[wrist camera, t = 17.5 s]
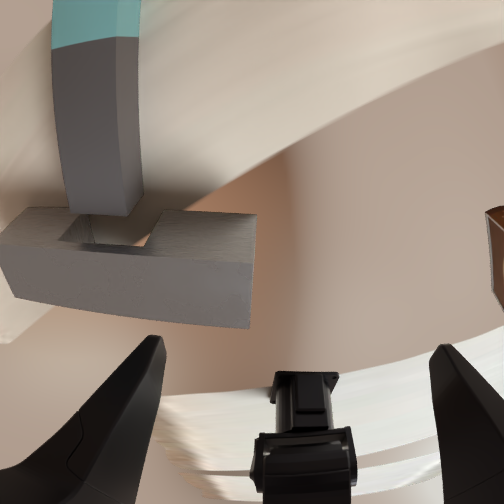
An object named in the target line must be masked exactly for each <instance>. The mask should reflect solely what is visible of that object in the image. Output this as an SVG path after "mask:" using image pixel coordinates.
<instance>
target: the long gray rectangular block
mask: <svg viewBox="0 0 504 504" xmlns="http://www.w3.org/2000/svg"><path fill="white" fill-rule="evenodd" d="M256 221H257V215H256V214H239V213H222V212H202V211H180V210H164V211H163V213H162V215H161V216H160V218H159V220H158V222H157V223H156V225H155V227H154V229H153V230H152V232H151V234H150V236H149V238H148V240H147V241H146V243H145V245H144V247H139V246H125V245H110V244H95V242H94V239H93V235H92V231H91V226H90V222H89V218H88V214H76V213H70V208H63V207H27V208H26V209H25V210H24V211H23V212H22V213H21V214H20V215H19V216H18V217H17V218H16V219H15V220H14V221H12V222H11V223H10V224H9V225H8V226H7V227H6V228H5V229H4V230H3V231H2V232H1V233H0V267H1V269H2V271H3V273H4V276H5V278H6V280H7V282H8V284H9V286H10V288H11V290H12V292H13V294H14V296H15V297H16V298H21V299H25V300H30V301H35V302H40V303H46V304H51V305H56V306H62V307H68V308H74V309H79V310H86V311H92V312H98V313H104V314H111V315H118V316H125V317H133V318H140V319H148V320H156V321H165V322H175V323H184V324H194V325H204V326H216V327H228V328H241V329H249V328H250V313H251V299H252V285H253V284H252V283H253V270H254V254H255V237H256Z"/></svg>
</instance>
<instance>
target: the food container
mask: <svg viewBox="0 0 504 504" xmlns="http://www.w3.org/2000/svg"><path fill="white" fill-rule="evenodd" d="M485 216H486V224H487V232H488V241H489V252H490V264H491V286H492V292H493V294H494V296H495V298H496V299H497V301H498V303H499V305H500V307H501V308H502V310H503V312H504V206H498V207H495V208H492V209H490V210H488V211H486V212H485Z"/></svg>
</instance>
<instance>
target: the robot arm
mask: <svg viewBox="0 0 504 504" xmlns="http://www.w3.org/2000/svg"><path fill="white" fill-rule="evenodd" d="M165 363H166V349H165V346H164V342H163V338H162V337H161V336H157V335H148V336H147V337H146V338H145V339H144V340H143V341H142V342H141V343H140V345H138V347H137V348H136V349H135V350H134V351H133V352H132V353H131V354H130V355H129V356H128V357H127V358H126V359H125V360H124V361H123V362H122V364H121V365H120V366H119V367H118V368H117V369H116V370H115V371H114V372H113V373H112V374H111V375H110V376H109V377H108V379H107V380H106V381H105V382H104V383H103V384H102V385H101V386H100V387H99V388H98V389H97V390H96V391H95V393H94V394H93V395H92V396H91V397H90V398H89V399H88V400H87V401H86V402H85V403H84V404H83V405H82V406H81V408H80V409H79V411H77V412H76V413H75V414H74V415H73V416H72V417H71V418H70V419H69V420H68V421H67V422H66V423H65V425H63V427H62V428H61V429H60V430H58V432H56V433H55V434H54V435H53V436H52V437H51V438H50V439H48V440H47V441H46V442H45V443H44V444H43V445H41V446H40V447H39V448H38V449H37V450H36V451H34V452H33V453H32V454H31V455H30V456H29V457H27V458H26V459H25V460H24V461H22V462H21V463H19V464H17V465H15V466H12V467H10V468H6V469H2V470H0V504H135V501H136V496H137V492H138V487H139V483H140V479H141V474H142V470H143V466H144V462H145V457H146V453H147V450H148V446H149V442H150V438H151V434H152V430H153V426H154V422H155V418H156V415H157V411H158V407H159V403H160V397H161V390H162V383H163V376H164V370H165ZM429 370H430V380H431V391H432V402H433V409H434V415H435V421H436V428H437V435H438V442H439V450H440V459H441V469H442V480H443V493H444V504H504V399H503V398H502V397H501V396H500V395H499V394H498V393H497V392H496V391H495V390H494V388H493V387H492V386H491V385H490V384H489V383H488V382H487V381H486V380H485V379H484V378H483V377H482V376H481V375H480V373H479V372H478V371H477V370H476V369H475V368H474V367H473V366H472V365H471V364H470V363H469V362H468V361H467V360H466V359H465V358H464V357H463V356H462V355H461V354H460V353H459V352H458V351H457V350H456V349H455V348H454V347H453V346H452V345H451V344H440V345H439V346H438V347H437V349H436V350H435V352H434V353H433V355H432V356H431V358H430V360H429ZM338 379H339V373H338V372H295V371H277V372H276V373H275V377H274V381H273V386H272V391H271V396H270V403H272V404H276V433H259V438H257V439H255V445H254V456H253V460H252V465H251V469H250V478H251V479H252V480H253V481H254V483H255V486H256V490H257V493H263V504H351V487H352V486H356V483H357V460H356V454H355V448H354V443H353V438H352V433H351V428H350V426H347V427H344V428H337V429H334V425H333V414H332V404H331V393H332V391H333V389H334V387H335V385H336V383H337V381H338Z"/></svg>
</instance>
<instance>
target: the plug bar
mask: <svg viewBox="0 0 504 504" xmlns="http://www.w3.org/2000/svg"><path fill="white" fill-rule="evenodd" d="M140 4H141V0H53V12H52V38H51V56H52V85H53V100H54V112H55V122H56V131H57V139H58V146H59V153H60V160H61V166H62V172H63V178H64V183H65V189H66V194H67V199H68V203H69V208H70V213H76V214H95V215H113V216H128V214H129V213H130V212H131V210H132V209H133V208H134V206H135V205H136V204H137V202H138V201H139V200H140V198H141V197H142V196H143V194H144V189H143V178H142V165H141V150H140V132H139V104H138V47H139V20H140Z"/></svg>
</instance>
